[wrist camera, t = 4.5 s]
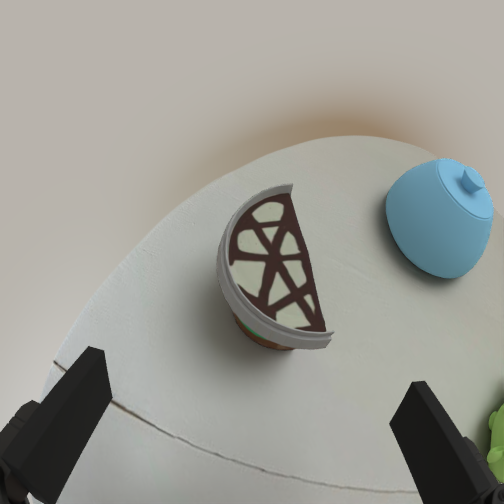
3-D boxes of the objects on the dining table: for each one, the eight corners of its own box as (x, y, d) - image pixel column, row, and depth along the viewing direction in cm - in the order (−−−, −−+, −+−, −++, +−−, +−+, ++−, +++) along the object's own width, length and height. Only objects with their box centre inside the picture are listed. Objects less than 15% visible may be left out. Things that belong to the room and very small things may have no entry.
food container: (212, 251, 29) (209, 182, 21) (272, 245, 30) (291, 178, 22) (227, 375, 23) (228, 358, 15) (297, 365, 24) (336, 340, 16)
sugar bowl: (368, 182, 37) (402, 115, 27) (447, 198, 37) (485, 147, 27) (392, 284, 29) (455, 224, 19) (477, 285, 30) (534, 241, 20)
